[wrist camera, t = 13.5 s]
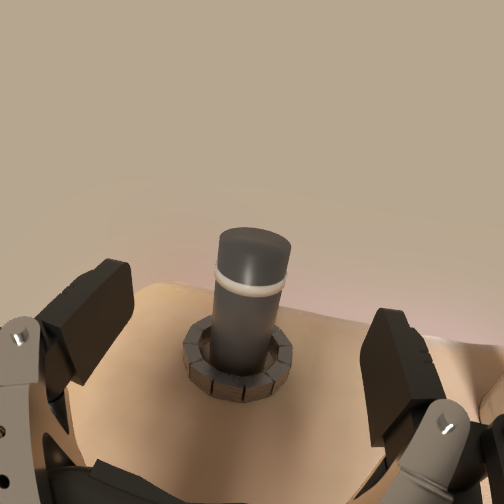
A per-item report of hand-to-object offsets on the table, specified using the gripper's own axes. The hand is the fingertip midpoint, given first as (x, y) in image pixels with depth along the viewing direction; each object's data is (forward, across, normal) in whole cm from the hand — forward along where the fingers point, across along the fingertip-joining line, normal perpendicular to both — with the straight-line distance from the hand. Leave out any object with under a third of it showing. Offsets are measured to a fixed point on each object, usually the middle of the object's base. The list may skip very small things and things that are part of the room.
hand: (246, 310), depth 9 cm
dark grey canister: (+11, +1, +15) cm, 19 cm away
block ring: (+12, +1, +15) cm, 19 cm away
